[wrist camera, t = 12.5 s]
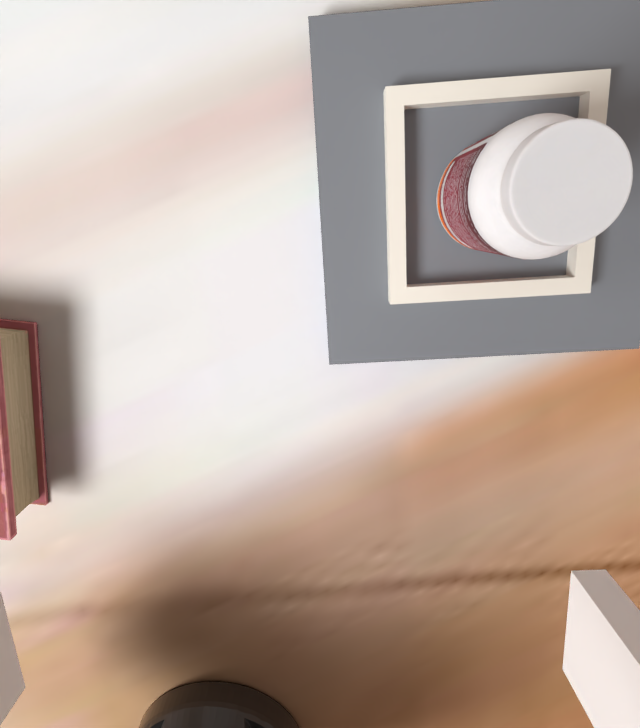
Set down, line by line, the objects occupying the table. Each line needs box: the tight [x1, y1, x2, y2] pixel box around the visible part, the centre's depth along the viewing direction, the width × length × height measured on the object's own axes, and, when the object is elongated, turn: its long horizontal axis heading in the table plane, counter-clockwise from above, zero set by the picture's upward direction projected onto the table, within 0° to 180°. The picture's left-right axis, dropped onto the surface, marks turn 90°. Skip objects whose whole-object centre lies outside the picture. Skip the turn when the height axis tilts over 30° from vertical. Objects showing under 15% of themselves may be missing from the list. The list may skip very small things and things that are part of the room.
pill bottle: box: [436, 113, 633, 260], centre depth 24 cm, size 6×6×11 cm
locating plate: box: [308, 0, 640, 365], centre depth 30 cm, size 20×20×3 cm
